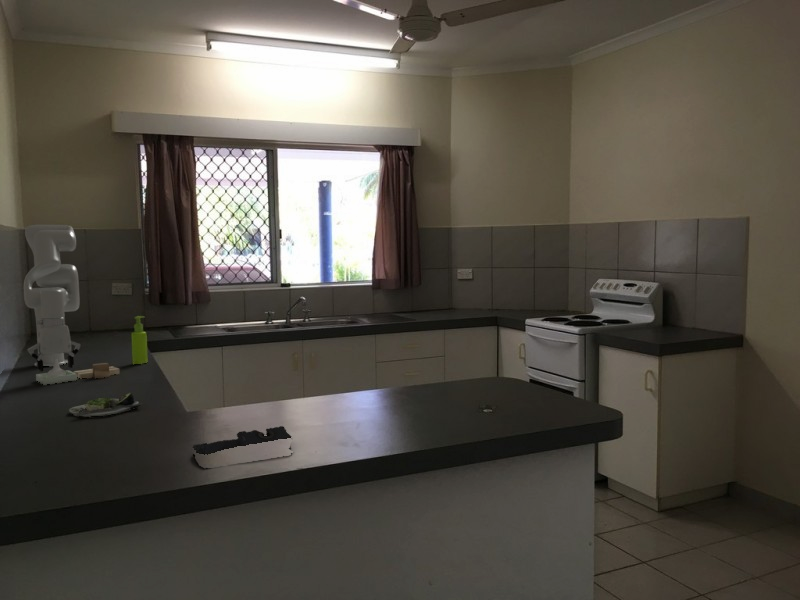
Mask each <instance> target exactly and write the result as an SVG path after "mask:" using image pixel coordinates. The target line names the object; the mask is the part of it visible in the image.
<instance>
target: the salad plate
mask: <svg viewBox="0 0 800 600" xmlns="http://www.w3.org/2000/svg"><path fill="white" fill-rule="evenodd" d="M142 405H143V403H142V402H141V403H140V402H139V401H137V400H135V397H134V395H133V393H132V392H129V393H127V394H125V395H121V396H119V398H110V397H101V398H100V397H99V398H97V399H96V398H95V399H93V400H88V401H87V402H86V403H85V404H84V403H83V404H82V405H76V406H72V407H71V408H69V409H68V413H69V414H70V415H72V414H73V416H75V417H79V416H83V417H82V418H86V417H89V418H92V417H91V416H103V417H105V416H104V415H111V414H115V413H119V412H122V411H125V410H129V409H133V408H136V407H137V408H138V407H140V406H142ZM85 408H86V409H87V410H85V411H82V412H80V413H79V411H80V410H82V409H85ZM137 408H136V409H137ZM119 414H120V413H119ZM111 416H112V415H111Z"/></svg>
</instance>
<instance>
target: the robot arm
mask: <svg viewBox="0 0 800 600" xmlns="http://www.w3.org/2000/svg"><path fill="white" fill-rule="evenodd" d="M24 235H25V239H26V242H27V243H28V246H29V248H30V249H31V251H32V254H33V265H34V266H32V268H31V269H30V270H29V271H28V272H27V274H26V275H25V278H24V281H23V299H24V303H25V306H26V307H27V308H29V309H33V310H34V316H35V324H36V326H35V327H36V340H37V343H36V344H34V345H32V346H30V347H29V348H27V352H28V353H29V355H31V357H32V358H34V359H35V360H36V362H34V367H37V370H39V372H44V367H43V366H49V367H53V366H54V358H58V363H59V366H63V364H64V365H67V367H68V368H70V369H71V368H73V366H74V363H75V362H74V357H75V355H77V354H78V352H79V350H80V348H81V343H78V342H76V341H72V340H71V333H70V329H69V326H68V325H66V317H65V316H66V315H65V313H66V312H68V313H69V312H76V311H77V310H78V309H79V308H80V303H81V302H80V300H81V299H80V283H79V273H78V269H77V267H76V265H73V264H70V263H68V264H67V263H62V261H61V253H60V252H74V251H75V250H76V248H77V238H76V237H77V236H76V233H75V231H74V228H73V226H72V225H69V224H68V225H67V224H32V225H28V226H27V227H26V228H25V229H24ZM35 282H36V286H38V287H33V284H34V283H35ZM65 288H66V289H65ZM72 346H74V349H73V350H72ZM35 350H37V354H36V353H35V352H34V351H35ZM65 354H67V355H68V356H67V359H65ZM66 363H67V364H66Z"/></svg>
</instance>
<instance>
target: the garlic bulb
mask: <svg viewBox="0 0 800 600" xmlns="http://www.w3.org/2000/svg"><path fill="white" fill-rule="evenodd" d="M52 367H53V368H52V369H50V370H49V371H47V372H46V373H47V377H55V376H63V375H66V372H65V371H66V370H64V369H62V368H61V367H60V365H59V363H58V358H54V366H52Z"/></svg>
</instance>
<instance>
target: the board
mask: <svg viewBox="0 0 800 600" xmlns="http://www.w3.org/2000/svg"><path fill="white" fill-rule="evenodd" d="M73 372H74V373H76V374H77V377H78V378H77V379H79V378H80V379H79V380H83V379H82V378H87V379H93V378H92V377H93V368H89V369H82V370H74V371H73ZM109 374H110V376H114V374H116V375H120V368H118V367H116V366H113V365H112V366H109Z"/></svg>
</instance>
